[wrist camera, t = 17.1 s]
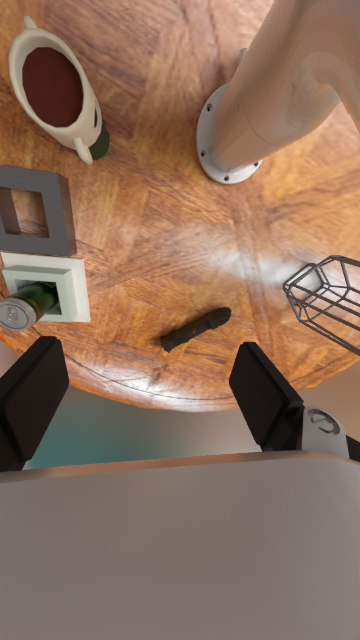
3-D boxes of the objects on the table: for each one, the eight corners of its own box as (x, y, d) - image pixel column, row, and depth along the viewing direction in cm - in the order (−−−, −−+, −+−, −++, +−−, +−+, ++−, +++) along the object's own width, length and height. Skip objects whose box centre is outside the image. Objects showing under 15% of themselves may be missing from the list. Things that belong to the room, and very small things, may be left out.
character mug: (124, 171, 32) (109, 145, 21) (85, 183, 32) (48, 165, 21) (93, 78, 27) (50, -24, 16) (46, 94, 27) (-30, 4, 16)
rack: (4, 251, 36) (-17, 256, 31) (83, 258, 38) (74, 263, 34) (23, 317, 42) (8, 328, 38) (90, 320, 44) (83, 331, 40)
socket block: (-15, 165, 30) (-37, 158, 26) (67, 178, 32) (57, 173, 28) (8, 246, 35) (-8, 249, 32) (77, 252, 37) (69, 256, 34)
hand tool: (166, 346, 51) (167, 357, 47) (159, 335, 49) (159, 346, 45) (231, 315, 49) (238, 324, 45) (226, 302, 47) (233, 310, 43)
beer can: (36, 273, 37) (-10, 295, 27) (66, 282, 39) (33, 306, 28) (35, 298, 39) (-8, 327, 29) (63, 305, 41) (32, 335, 30)
